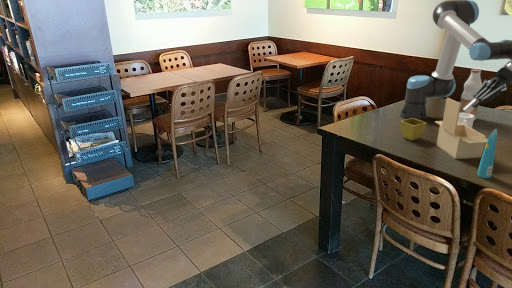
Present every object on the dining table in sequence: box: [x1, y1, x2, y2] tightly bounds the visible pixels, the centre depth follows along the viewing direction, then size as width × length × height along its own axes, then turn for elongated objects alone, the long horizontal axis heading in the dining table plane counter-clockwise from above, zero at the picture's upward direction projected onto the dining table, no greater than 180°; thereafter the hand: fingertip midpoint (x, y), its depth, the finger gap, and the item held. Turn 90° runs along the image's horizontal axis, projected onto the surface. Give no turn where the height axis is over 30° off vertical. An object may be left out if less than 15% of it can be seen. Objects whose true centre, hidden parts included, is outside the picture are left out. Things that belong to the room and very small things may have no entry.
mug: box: [458, 113, 475, 129], centre depth 192 cm, size 12×9×10 cm
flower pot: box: [400, 118, 427, 141], centre depth 188 cm, size 9×9×9 cm
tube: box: [476, 128, 498, 179], centre depth 148 cm, size 7×5×19 cm, turn 140°
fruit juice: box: [459, 68, 483, 122], centre depth 211 cm, size 9×9×28 cm
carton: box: [434, 120, 489, 160], centre depth 172 cm, size 28×12×10 cm, turn 4°
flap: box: [442, 97, 461, 135], centre depth 167 cm, size 10×1×14 cm, turn 4°
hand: (465, 111), depth 166 cm, fingers closed
